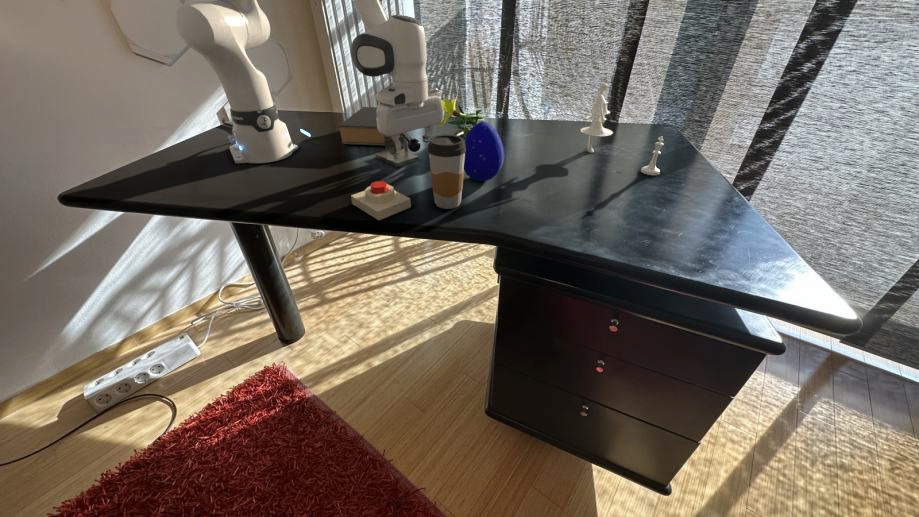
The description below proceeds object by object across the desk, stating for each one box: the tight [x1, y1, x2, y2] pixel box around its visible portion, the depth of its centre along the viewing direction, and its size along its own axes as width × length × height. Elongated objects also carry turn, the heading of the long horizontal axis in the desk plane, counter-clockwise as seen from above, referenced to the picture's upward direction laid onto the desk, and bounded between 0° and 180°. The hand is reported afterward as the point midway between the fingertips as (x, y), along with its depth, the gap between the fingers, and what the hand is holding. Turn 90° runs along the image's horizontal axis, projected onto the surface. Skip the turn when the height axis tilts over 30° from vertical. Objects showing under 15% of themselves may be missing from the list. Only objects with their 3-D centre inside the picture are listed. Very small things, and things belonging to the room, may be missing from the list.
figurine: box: [580, 82, 614, 154], centre depth 109 cm, size 13×10×20 cm
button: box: [370, 180, 388, 194], centre depth 82 cm, size 4×4×2 cm
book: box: [338, 106, 385, 146], centre depth 125 cm, size 17×25×7 cm
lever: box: [401, 132, 422, 153], centre depth 101 cm, size 13×4×4 cm, turn 45°
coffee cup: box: [427, 134, 466, 210], centre depth 81 cm, size 8×8×15 cm
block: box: [350, 184, 412, 221], centre depth 83 cm, size 11×9×4 cm
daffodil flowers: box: [437, 86, 490, 140], centre depth 116 cm, size 17×15×35 cm
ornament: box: [464, 121, 506, 182], centre depth 92 cm, size 11×9×15 cm
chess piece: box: [640, 135, 665, 176], centre depth 98 cm, size 5×5×10 cm
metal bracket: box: [375, 134, 420, 168], centre depth 105 cm, size 11×8×13 cm
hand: (413, 145), depth 100 cm, fingers open, 8 cm apart
